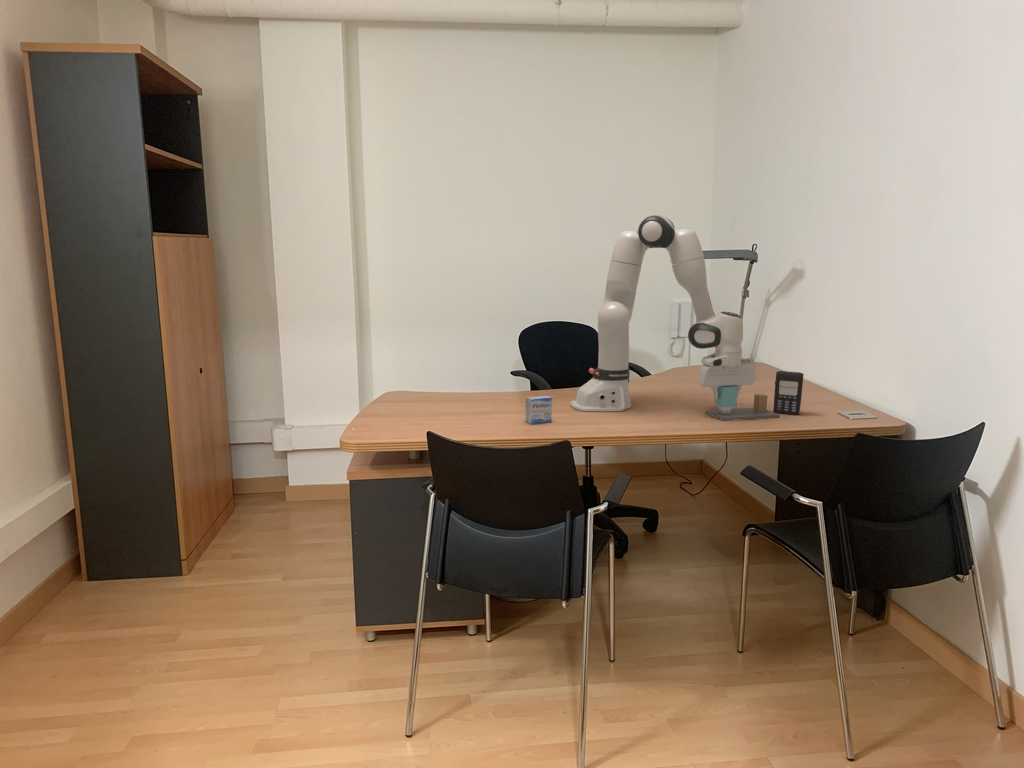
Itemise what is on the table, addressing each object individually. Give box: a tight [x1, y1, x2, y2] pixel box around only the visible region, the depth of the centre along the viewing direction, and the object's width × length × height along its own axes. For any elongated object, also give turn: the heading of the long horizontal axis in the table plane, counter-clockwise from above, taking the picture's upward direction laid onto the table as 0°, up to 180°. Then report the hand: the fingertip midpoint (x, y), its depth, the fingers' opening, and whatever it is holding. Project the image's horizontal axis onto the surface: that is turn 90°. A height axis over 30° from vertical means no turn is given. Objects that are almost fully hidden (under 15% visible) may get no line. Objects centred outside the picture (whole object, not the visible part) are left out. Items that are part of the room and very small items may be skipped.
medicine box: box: [525, 395, 553, 425], centre depth 243 cm, size 8×4×9 cm, turn 114°
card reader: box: [773, 370, 805, 416], centre depth 256 cm, size 9×4×15 cm, turn 66°
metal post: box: [717, 405, 732, 415], centre depth 252 cm, size 3×3×6 cm
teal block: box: [714, 386, 738, 408], centre depth 252 cm, size 5×5×7 cm
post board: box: [704, 393, 780, 421], centre depth 254 cm, size 22×12×7 cm, turn 103°
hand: (725, 398), depth 252 cm, fingers closed on teal block, 5 cm apart
